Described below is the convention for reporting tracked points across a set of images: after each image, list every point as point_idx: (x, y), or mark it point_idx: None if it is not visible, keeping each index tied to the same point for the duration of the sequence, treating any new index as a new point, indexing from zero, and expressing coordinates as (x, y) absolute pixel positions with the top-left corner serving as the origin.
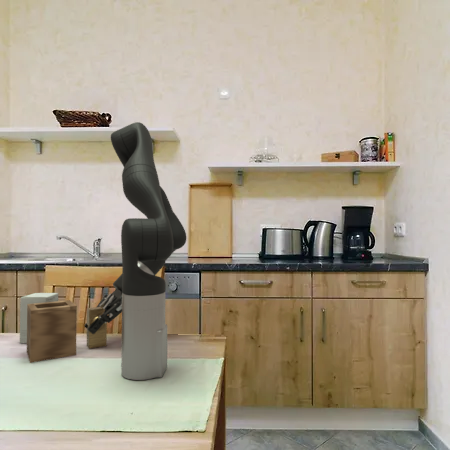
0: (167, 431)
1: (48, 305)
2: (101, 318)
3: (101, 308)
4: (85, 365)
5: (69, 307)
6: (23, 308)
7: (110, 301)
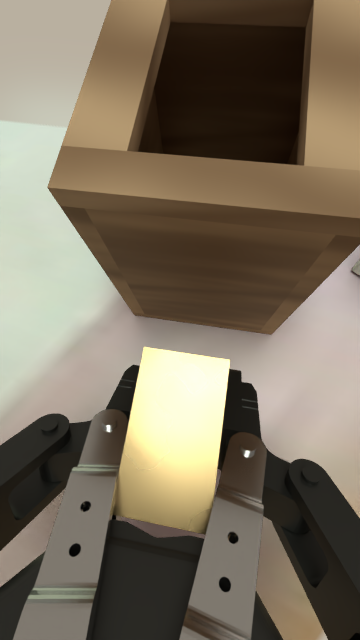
0: None
1: (305, 81)
2: (86, 422)
3: (131, 461)
4: (15, 303)
5: (67, 147)
6: None
7: (40, 577)
